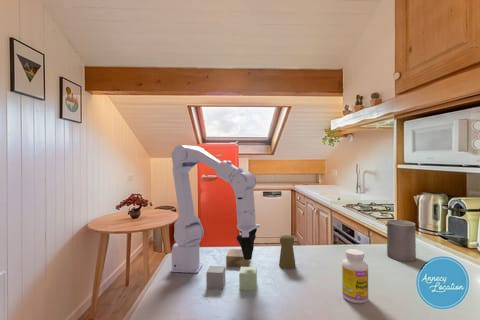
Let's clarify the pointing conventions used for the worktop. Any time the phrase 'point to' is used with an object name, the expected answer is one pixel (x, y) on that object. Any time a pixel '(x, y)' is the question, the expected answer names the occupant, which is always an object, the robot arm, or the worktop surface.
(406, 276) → the worktop surface
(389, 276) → the worktop surface
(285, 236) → the cork
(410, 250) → the pillar candle
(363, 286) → the supplement bottle
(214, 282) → the grey cube
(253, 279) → the green cube
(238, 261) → the walnut block
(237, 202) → the robot arm
